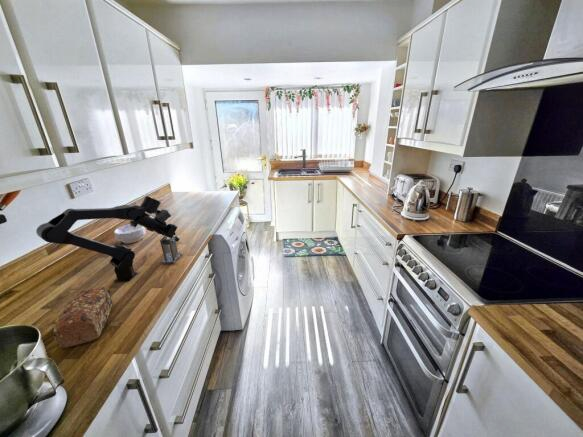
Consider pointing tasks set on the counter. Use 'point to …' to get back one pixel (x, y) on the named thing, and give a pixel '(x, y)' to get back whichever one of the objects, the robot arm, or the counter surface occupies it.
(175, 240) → the ball knob lever
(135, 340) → the counter surface
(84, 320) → the bread
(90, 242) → the robot arm
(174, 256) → the bracket
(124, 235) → the paper bowls
